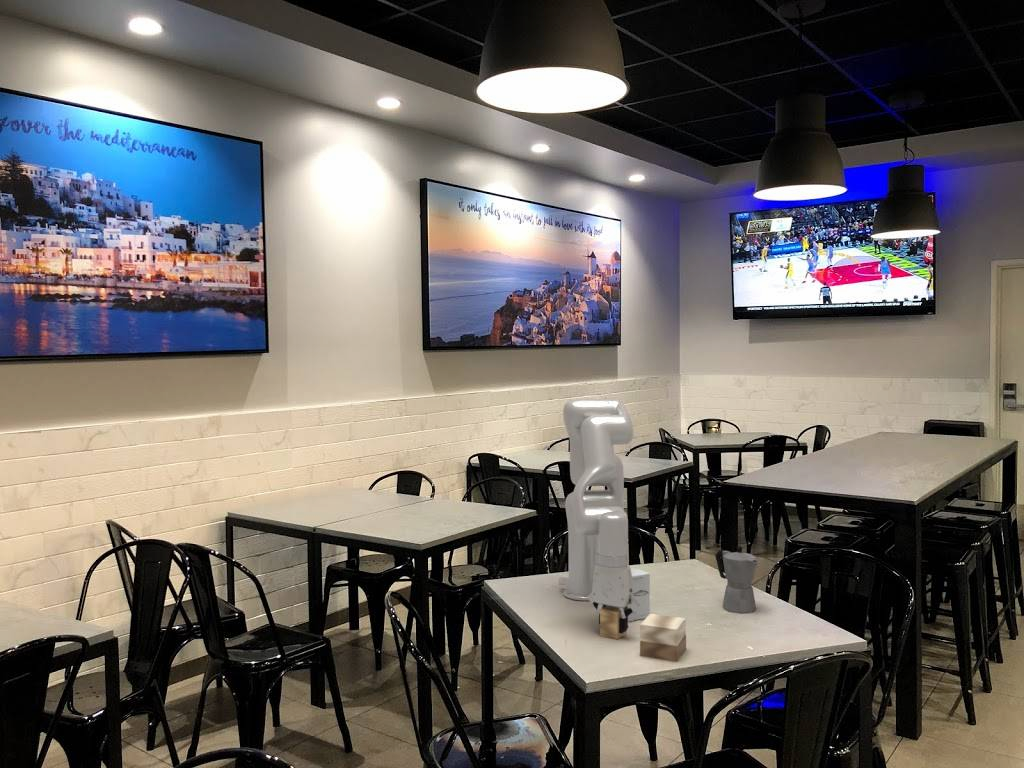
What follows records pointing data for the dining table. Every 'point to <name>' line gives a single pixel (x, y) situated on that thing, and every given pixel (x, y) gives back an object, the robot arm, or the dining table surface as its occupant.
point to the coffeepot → (738, 580)
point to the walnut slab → (663, 650)
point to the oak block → (610, 622)
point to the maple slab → (663, 629)
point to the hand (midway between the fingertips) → (613, 629)
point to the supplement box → (640, 594)
